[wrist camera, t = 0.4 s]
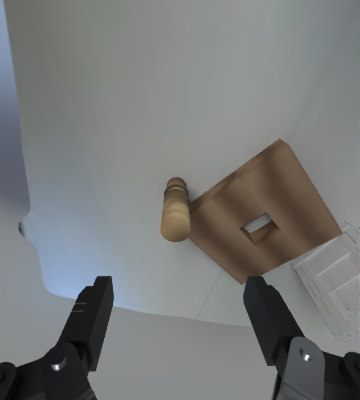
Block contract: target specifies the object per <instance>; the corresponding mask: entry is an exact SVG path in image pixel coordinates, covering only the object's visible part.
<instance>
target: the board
mask: <svg viewBox="0 0 360 400" xmlns="http://www.w3.org/2000/svg"><path fill="white" fill-rule="evenodd" d="M264 213H267V214H268V215H269V216H270V218H271V219H272V220H273V221H271V222H270V223H268V224H266V225H264V226H263V227H261V228H259V229H258V230H256V231H254V232H252V233H251V234H249V233H248V231H247V230H246V229H245V228H244V227H243V226H244V225H246V224H248V223H249V222H251V221H252V220H254V219H256V218H257V217H259V216H261V215H262V214H264ZM189 215H190V229H191V232H190V235H189V236H188V238H189V239H190V240H191V241H192V242H194V243H195V244H196V245H197V246H198V247H199V248H200V249H202V250H203V251H204V252H205V253H206V254H207V255H208V256H210V257H211V258H212V259H213V260H214V261H215V262H216V263H218V264H219V265H220V266H221V267H222V268H223V269H224V270H225V271H227V272H228V273H229V274H230V275H231V276H232V277H233V278H235V279H236V280H237V281H238V282H239V283H240V284H241V285H242V284H244V283H246V282H247V278H248V276H260V275H262V274H264V273H266V272H268V271H270V270H272V269H274V268H276V267H278V266H280V265H282V264H284V263H286V262H288V261H290V260H292V259H294V258H296V257H298V256H300V255H302V254H304V253H306V252H308V251H310V250H312V249H314V248H316V247H318V246H320V245H322V244H324V243H326V242H328V241H330V240H332V239H334V238H336V237H338V236H340V235H342V234H343V232H342V231H341V229H340V227H339V226H338V224H337V223H336V221H335V219H334V218H333V216H332V214H331V213H330V211H329V210H328V208H327V206H326V205H325V203H324V201H323V200H322V198H321V197H320V195H319V193H318V192H317V190H316V188H315V187H314V185H313V184H312V182H311V180H310V179H309V177H308V175H307V174H306V172H305V171H304V169H303V167H302V166H301V164H300V163H299V161H298V159H297V158H296V156H295V154H294V153H293V151H292V150H291V148H290V146H289V145H288V144H286V143H285V142H284V141H282V140H281V139H279V140H277V141H276V142H274V143H273V144H272V145H270V146H269V147H268V148H266V149H265V150H263V151H262V152H261V153H259V154H258V155H256V156H255V157H254V158H252V159H251V160H250V161H248V162H247V163H245V164H244V165H243V166H241V167H240V168H238V169H237V170H236V171H234V172H233V173H232V174H230V175H229V176H227V177H226V178H225V179H223V180H222V181H221V182H219V183H218V184H216V185H215V186H214V187H212V188H211V189H209V190H208V191H207V192H205V193H204V194H203V195H201V196H200V197H198V198H197V199H196V200H194V201H193V202H192V203H190V204H189Z"/></svg>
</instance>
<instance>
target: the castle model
mask: <svg viewBox="0 0 360 400" xmlns="http://www.w3.org/2000/svg"><path fill="white" fill-rule="evenodd" d="M338 226H339V227H340V229H341V231H342V232H343V234H342V235H340V236H338V237H336V238H334V239H332V240H330V241H328V242H326V243H324V244H322V245H320V246H318V247H316V248H314V249H312V250H310V251H308V252H306V253H304V254H302V255H300V256H299V257H297V258H296V259H295V260H294V261H292V262H291V263H290V264H291V265H292V267H293V268H294V269H295V270H296V271H297V273H298V275H299V277H300V278H301V280H302V282H303V284H304V285H305V287H306V289H307V291H308V292H309V294H310V296H311V297H312V299H313V301H314V303H315V304H316V306H317V308H318V310H319V311H320V313H321V315H322V317H323V318H324V320H325V322H326V323H327V325H328V327H329V329H330V330H331V332H332V334H333V336H334V337H335V338H336V339H338V340H341V341H343V342H348V341H350V340H351V338H350V336H349V335H350V334H351V336H352V337H353V338H356V337H358V336H360V229H358V228H357V227H355V226H354V225H352V224H350V223H349V222H347V221H346V220H344V221H343V222H341V223H340V224H339V225H338Z"/></svg>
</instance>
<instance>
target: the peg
mask: <svg viewBox="0 0 360 400" xmlns="http://www.w3.org/2000/svg"><path fill="white" fill-rule="evenodd" d="M190 232H191V229H190V215H189V201H188V191H187V189H186V184H185V182H184V180H182V179H181V178H172V179H170V180H169V181H168V183H167V188H166V190H165V192H164V203H163V212H162V221H161V234H162V236H163V237H164V238H165V239H166V240H168V241H172V242H180V241H183V240H185V239H186V238H187V237H188V236H189V235H190Z"/></svg>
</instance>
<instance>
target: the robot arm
mask: <svg viewBox="0 0 360 400" xmlns="http://www.w3.org/2000/svg"><path fill="white" fill-rule="evenodd" d="M113 300H114V293H113V285H112V277H111V276H97V278H96V280H95V282H94V285H93V286H86V287H85V288H84V289H83V290H82V292H81V293H80V294H79V295H78V298H77V300H76V302H75V305H74V307H73V309H72V312H71V313H70V316H69V318H68V320H67V322H66V325H65V327H64V329H63V331H62V334H61V336H60V338H59V340H58V342H57V344H56V345H55V346H54V347H53V348H51V349H50V350H49V351H48V352H47V353H46V354H45V355H44V357H42V358H40V359H38V360H36V361H33V362H30V363H27V364H24V365H22V366H19V367H15V365H14V364H12V363H10V362H3V363H0V400H97V398H96V396H95V393H94V392H93V391H92V388H91V386H90V383H89V381H88V379H87V376H88V372H89V371H96V368H97V364H98V360H99V357H100V353H101V349H102V345H103V341H104V338H105V334H106V330H107V326H108V322H109V318H110V314H111V310H112V307H113ZM243 300H244V305H245V308H246V310H247V313H248V315H249V318H250V321H251V323H252V326H253V329H254V331H255V334H256V336H257V339H258V342H259V345H260V347H261V350H262V353H263V355H264V358H265V360H266V363H267V366H276V369H277V371H278V373H277V376H276V380H275V385H274V389H273V394H272V398H271V400H360V354H358V353H355V352H348V353H346V354H345V356H344V357H340V356H336V355H333V354H330V353H326V352H323V351H321V350H320V348H319V347H318V346H317V345H316V344H315V343H313V342H312V341H311V340H309V339H307V338H305V336H304V334H303V333H302V331H301V329H300V328H299V326H298V324H297V322H296V321H295V319H294V317H293V316H292V314H291V312H290V310H289V309H288V307H287V305H286V303H285V302H284V300H283V298H282V297H281V295H280V293H279V292H278V291H277V290H276V289H275V288H274V287H273V286H272V285H267V284H266V282H265V280H264V278H263V277H262V276H248V278H247V282H246V286H245V290H244V294H243Z"/></svg>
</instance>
